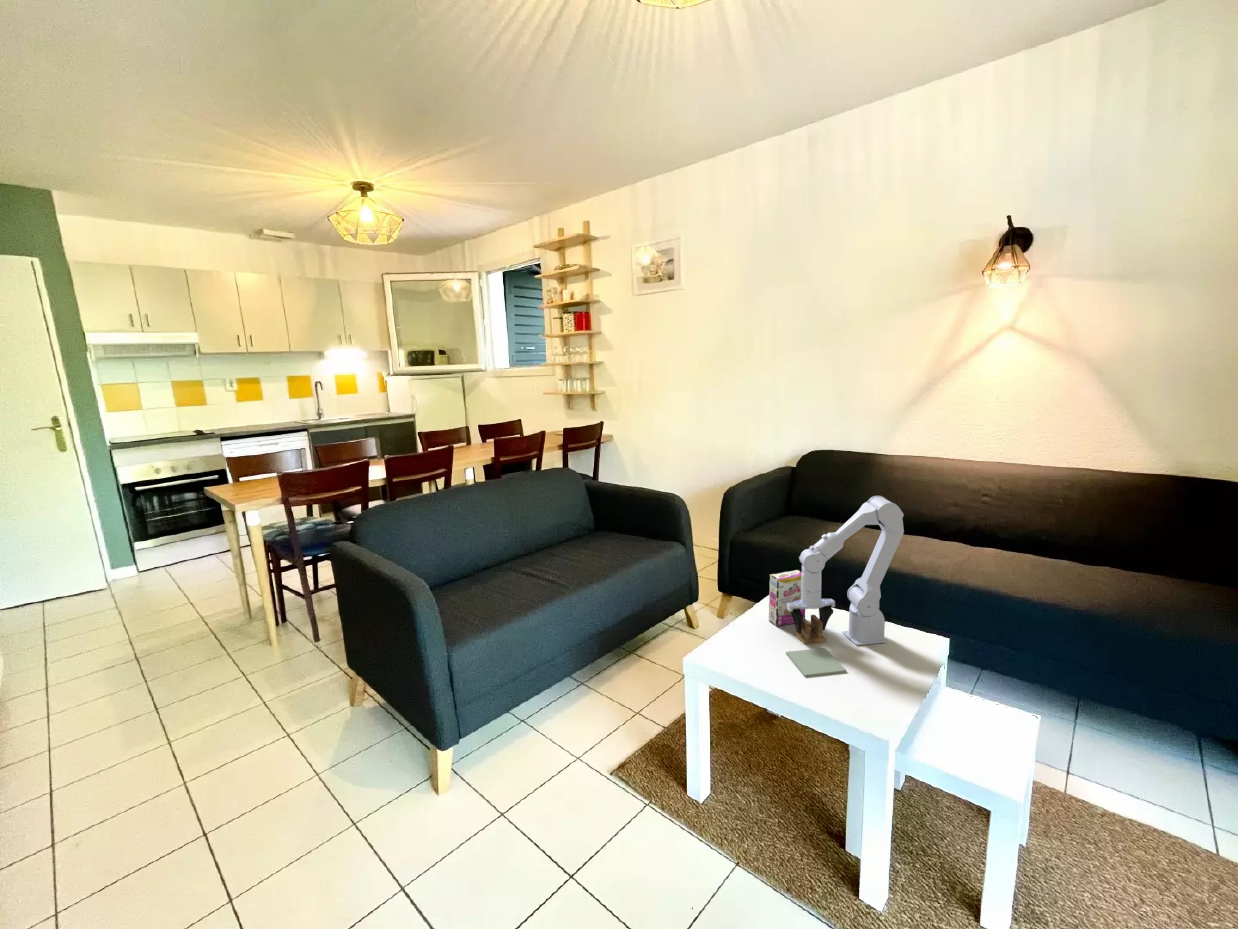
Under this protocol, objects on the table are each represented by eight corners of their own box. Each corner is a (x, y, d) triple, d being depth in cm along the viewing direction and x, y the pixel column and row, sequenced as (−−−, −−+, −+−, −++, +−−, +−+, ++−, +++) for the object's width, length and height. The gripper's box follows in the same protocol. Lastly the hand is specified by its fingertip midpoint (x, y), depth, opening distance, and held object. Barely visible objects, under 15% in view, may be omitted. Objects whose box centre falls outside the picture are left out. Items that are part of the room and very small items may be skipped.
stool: (816, 633, 165) (816, 613, 164) (825, 642, 159) (826, 622, 158) (795, 635, 164) (795, 616, 163) (803, 644, 159) (804, 625, 157)
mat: (824, 649, 155) (824, 647, 155) (846, 672, 143) (846, 670, 143) (785, 653, 154) (785, 652, 154) (804, 677, 142) (804, 674, 142)
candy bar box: (777, 627, 169) (777, 579, 167) (768, 621, 174) (768, 574, 171) (806, 621, 173) (807, 574, 170) (797, 614, 177) (797, 569, 174)
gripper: (827, 581, 164) (826, 621, 166) (782, 585, 162) (782, 626, 164) (839, 590, 157) (837, 632, 159) (792, 595, 155) (792, 637, 158)
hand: (810, 630), depth 161 cm, fingers open, 7 cm apart
